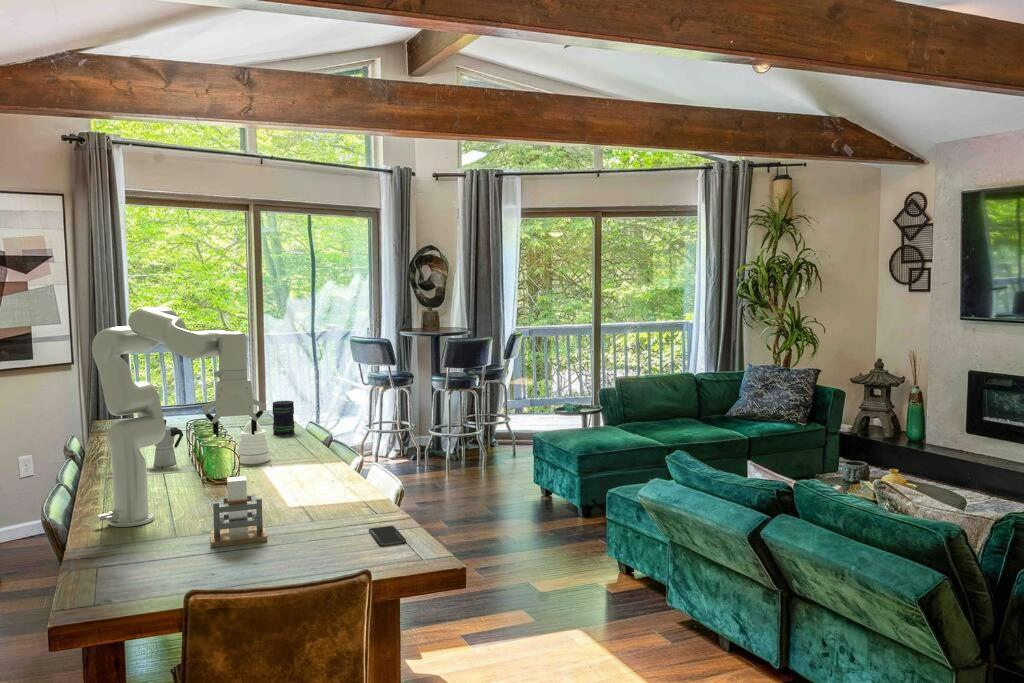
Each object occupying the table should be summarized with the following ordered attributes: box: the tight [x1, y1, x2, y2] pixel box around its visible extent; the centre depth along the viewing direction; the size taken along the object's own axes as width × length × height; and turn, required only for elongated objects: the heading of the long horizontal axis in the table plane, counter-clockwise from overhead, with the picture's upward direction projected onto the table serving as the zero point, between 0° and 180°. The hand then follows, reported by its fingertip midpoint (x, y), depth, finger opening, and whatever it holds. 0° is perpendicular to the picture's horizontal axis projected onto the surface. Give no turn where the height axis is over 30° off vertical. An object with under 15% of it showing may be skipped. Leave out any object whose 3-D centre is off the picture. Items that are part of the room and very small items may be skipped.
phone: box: [368, 525, 407, 548], centre depth 235 cm, size 8×1×15 cm
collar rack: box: [210, 494, 268, 548], centre depth 234 cm, size 15×11×11 cm
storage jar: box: [272, 400, 296, 437], centre depth 385 cm, size 10×10×15 cm
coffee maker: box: [153, 419, 184, 468], centre depth 324 cm, size 15×9×18 cm, turn 76°
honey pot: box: [236, 416, 271, 465], centre depth 331 cm, size 13×13×18 cm
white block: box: [226, 475, 249, 537], centre depth 234 cm, size 5×5×16 cm
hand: (235, 435), depth 232 cm, fingers open, 9 cm apart
